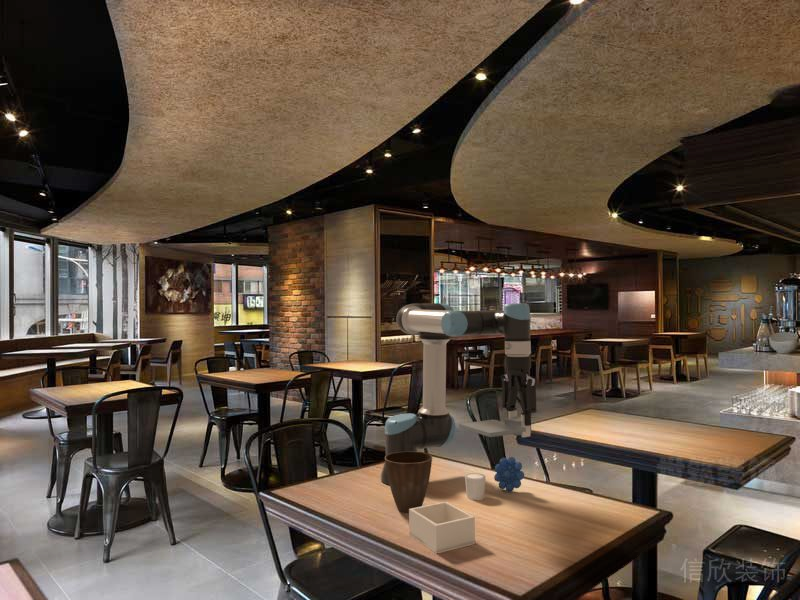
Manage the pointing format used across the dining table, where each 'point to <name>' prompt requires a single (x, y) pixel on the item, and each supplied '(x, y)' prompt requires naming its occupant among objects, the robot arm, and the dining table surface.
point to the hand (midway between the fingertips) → (519, 434)
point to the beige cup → (475, 486)
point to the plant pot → (408, 478)
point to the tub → (442, 527)
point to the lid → (496, 427)
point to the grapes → (509, 474)
